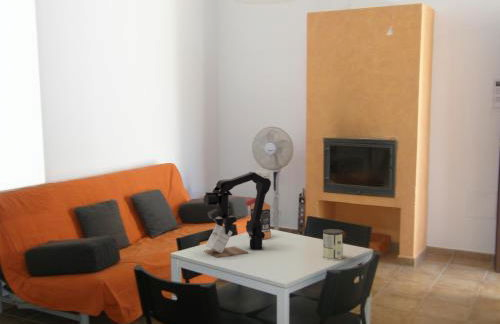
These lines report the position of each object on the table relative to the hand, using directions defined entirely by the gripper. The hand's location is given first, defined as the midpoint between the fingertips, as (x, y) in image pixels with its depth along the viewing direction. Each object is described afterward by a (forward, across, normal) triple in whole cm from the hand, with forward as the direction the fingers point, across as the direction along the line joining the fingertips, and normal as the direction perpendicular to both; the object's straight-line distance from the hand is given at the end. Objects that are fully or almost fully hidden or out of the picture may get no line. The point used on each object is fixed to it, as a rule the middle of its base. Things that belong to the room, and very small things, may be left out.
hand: (223, 233), depth 288 cm
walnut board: (+11, 0, +2) cm, 11 cm away
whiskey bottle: (+11, -22, +37) cm, 44 cm away
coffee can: (+11, +36, +45) cm, 59 cm away
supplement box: (+8, 0, -6) cm, 10 cm away
